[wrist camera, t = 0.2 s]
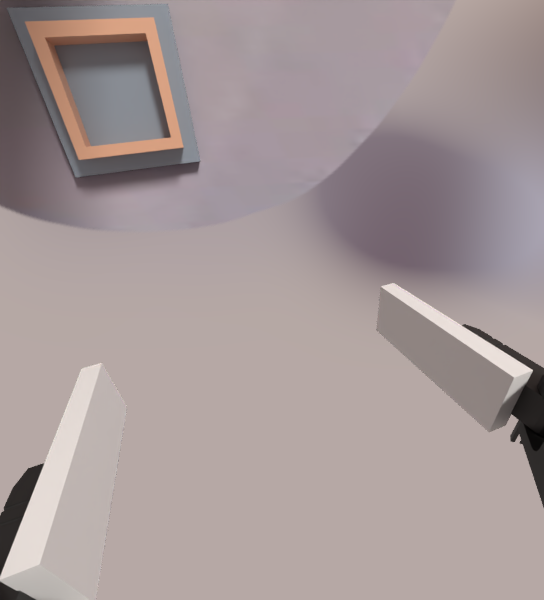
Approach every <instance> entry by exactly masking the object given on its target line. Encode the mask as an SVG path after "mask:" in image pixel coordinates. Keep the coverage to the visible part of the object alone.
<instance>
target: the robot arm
mask: <svg viewBox="0 0 544 600" xmlns="http://www.w3.org/2000/svg"><path fill="white" fill-rule="evenodd" d="M376 330H377V331H378V332H379V333H380V334H381V335H382V336H383V337H384V338H386V339H387V340H388V341H389V342H390V343H391V344H392V345H393V346H394V347H395V348H397V349H398V350H399V351H400V352H401V353H402V354H403V355H404V356H405V357H407V358H408V359H409V360H410V361H411V362H412V363H413V364H414V365H416V367H418V368H419V369H420V370H421V371H422V372H423V373H424V374H425V375H426V376H427V377H429V378H430V379H431V380H432V381H433V382H434V383H435V384H436V385H437V386H439V387H440V388H441V389H442V390H443V391H444V392H445V393H446V394H447V395H449V396H450V397H451V398H452V399H453V400H454V401H455V402H456V403H458V405H459V406H461V407H462V408H463V409H464V410H465V411H466V412H467V413H468V414H470V415H471V416H472V417H473V418H474V419H475V420H476V421H477V422H478V423H479V424H480V425H482V426H483V427H484V428H485V429H486V430H487V431H488V432H491V431H493V430H495V429H498V428H500V427H503V426H505V425H506V424H507V421H508V420H509V418H510V416H511V414H512V415H514V416H515V417H516V418H517V419H519V421H518V423H517V425H516V426H515V428H514V430H513V432H512V434H511V441H512V442H515V440H516V438H517V436H518V435H519V434H520V437H521V441H520V444H523V446H524V449H525V452H526V455H527V458H528V461H529V464H530V467H531V470H532V473H533V476H534V479H535V482H536V486H537V489H538V492H539V495H540V498H541V501H542V504H543V507H544V368H543V367H541V366H539V365H538V364H536V363H534V362H533V361H531V360H529V359H528V358H526V357H524V356H523V355H521V354H519V353H518V352H516V351H514V350H513V349H511V348H509V347H508V346H506V345H503V344H502V343H501V342H500V341H498V340H496V339H493V338H492V337H491V336H489V335H488V334H486V333H484V332H483V331H481V330H480V329H477V328H474V327H471V326H468V325H466V324H464V325H460V324H458V323H457V322H455V321H454V320H452V319H450V318H449V317H447V316H446V315H444V314H442V313H441V312H439V311H438V310H436V309H434V308H433V307H431V306H430V305H428V304H426V303H425V302H423V301H421V300H420V299H418V298H417V297H415V296H413V295H412V294H410V293H409V292H407V291H406V290H404V289H402V288H401V287H399V286H397V285H396V284H394V283H392V284H389V285H385V286H381V288H380V298H379V308H378V319H377V329H376ZM126 411H127V406H126V404H125V402H124V401H123V399H122V398H121V396H120V394H119V392H118V390H117V389H116V387H115V385H114V383H113V381H112V380H111V378H110V376H109V374H108V373H107V371H106V369H105V367H104V366H103V364H102V363H100V364H96V365H93V366H89V367H85V368H82V369H81V371H80V374H79V376H78V379H77V382H76V384H75V387H74V389H73V392H72V394H71V397H70V399H69V402H68V405H67V407H66V410H65V412H64V415H63V417H62V420H61V422H60V425H59V428H58V430H57V433H56V435H55V438H54V441H53V443H52V445H51V448H50V451H49V453H48V456H47V458H46V461H45V463H44V464H40V465H38V466H34V467H32V468H28V469H27V471H26V472H25V473H24V474H23V476H22V477H21V478H20V480H19V481H18V482H17V483H16V485H15V486H14V487H13V489H12V491H11V493H10V495H9V498H8V500H7V502H6V504H5V506H4V512H2V513H1V515H0V600H96V596H97V590H98V584H99V578H100V572H101V565H102V559H103V553H104V547H105V541H106V535H107V528H108V522H109V516H110V510H111V504H112V497H113V491H114V485H115V479H116V473H117V466H118V461H119V454H120V448H121V442H122V436H123V430H124V424H125V417H126Z"/></svg>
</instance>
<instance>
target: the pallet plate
mask: <svg viewBox="0 0 544 600" xmlns="http://www.w3.org/2000/svg"><path fill="white" fill-rule="evenodd" d="M7 10H8V13H9V15H10V18H11V20H12V23H13V25H14V28H15V30H16V32H17V35H18V37H19V40H20V42H21V45H22V47H23V50H24V52H25V55H26V57H27V59H28V62H29V64H30V67H31V69H32V72H33V74H34V77H35V79H36V82H37V84H38V86H39V89H40V91H41V94H42V96H43V99H44V101H45V104H46V106H47V109H48V111H49V113H50V116H51V118H52V121H53V123H54V126H55V128H56V131H57V133H58V135H59V138H60V140H61V143H62V145H63V148H64V150H65V153H66V155H67V158H68V160H69V162H70V165H71V167H72V170H73V172H74V175H75V177H83V176H91V175H99V174H106V173H114V172H122V171H129V170H137V169H145V168H152V167H160V166H168V165H176V164H183V163H191V162H199V161H200V157H199V152H198V147H197V142H196V137H195V133H194V128H193V123H192V118H191V113H190V109H189V104H188V99H187V94H186V89H185V84H184V80H183V75H182V70H181V65H180V60H179V56H178V51H177V46H176V41H175V36H174V32H173V27H172V22H171V17H170V12H169V7H168V4H144V5H103V6H62V7H21V8H7Z"/></svg>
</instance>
